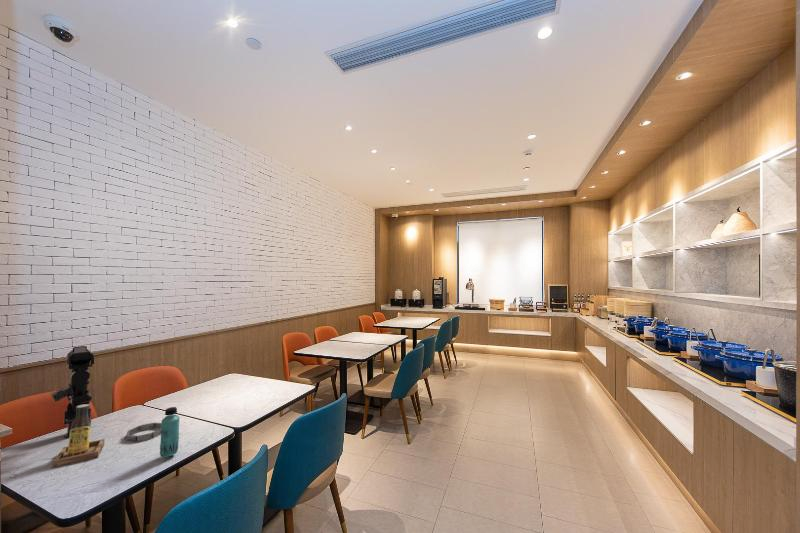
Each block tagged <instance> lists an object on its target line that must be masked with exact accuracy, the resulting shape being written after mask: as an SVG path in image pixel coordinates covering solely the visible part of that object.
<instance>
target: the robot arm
mask: <svg viewBox="0 0 800 533" xmlns="http://www.w3.org/2000/svg"><path fill="white" fill-rule="evenodd" d="M87 348H88V346H87V345H80V346H74V347H72V350H70V351H69V352H68V353H67V356H66V365H68V367H67V368H68V370H69V371H70V382H69V383H68V386H67V387H64V388H62V389H59V390H56V391H54V392H52V393H51V394H50V395H51V397H52V399H53V401H54V403H56V402H58V401H60V400H62V399H64V398H67V400H68V401H70V402H69V403H68V404H67V406H66V410H64V415H63V416H64V417H63V426H64V425H67V430H66V431H67V432H66V434H64V439H65V438H69V436H70V430H71V423H72V422H73V420H74V419H75V417H76V407H77V406H79V405H83V404H89V405H90V403H91V401H92V399H93V398H92V397H93V396H92V394H91V393H89V384H90V381H89V379H90V376H91V374H90V368H91V367H93V365H95V355H94V354H93V353H92V352H91V350H89V349H87ZM91 413H92V409H91V408H90V407H89V410H88V416H89V417H90V418H91Z"/></svg>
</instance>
